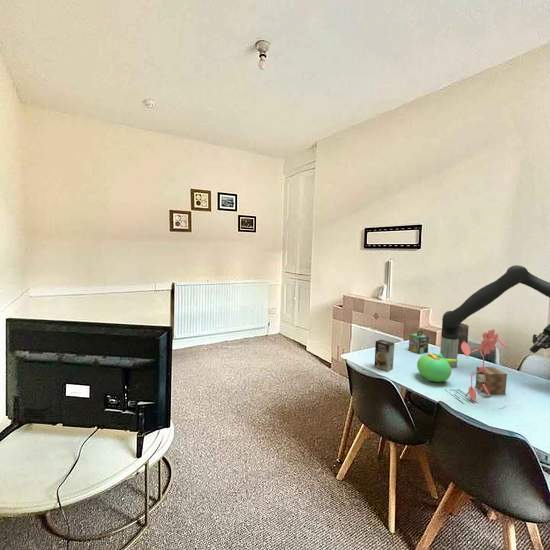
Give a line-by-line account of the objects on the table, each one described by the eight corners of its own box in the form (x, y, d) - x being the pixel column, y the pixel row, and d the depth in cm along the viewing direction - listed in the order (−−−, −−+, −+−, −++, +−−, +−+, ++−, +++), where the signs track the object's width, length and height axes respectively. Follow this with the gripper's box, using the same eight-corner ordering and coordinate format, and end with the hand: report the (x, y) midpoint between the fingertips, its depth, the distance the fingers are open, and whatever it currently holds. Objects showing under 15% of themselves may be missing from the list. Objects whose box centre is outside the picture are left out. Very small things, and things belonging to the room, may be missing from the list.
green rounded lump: (410, 373, 181) (412, 348, 180) (438, 372, 183) (440, 347, 181) (428, 387, 163) (430, 360, 162) (459, 386, 165) (461, 359, 163)
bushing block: (487, 394, 156) (489, 374, 155) (475, 386, 165) (476, 366, 164) (505, 394, 156) (507, 374, 155) (492, 386, 165) (493, 366, 164)
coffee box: (373, 367, 190) (374, 341, 188) (379, 364, 194) (380, 339, 192) (387, 372, 183) (389, 344, 181) (393, 369, 187) (394, 342, 185)
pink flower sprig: (451, 398, 152) (457, 327, 147) (486, 389, 162) (494, 323, 157) (482, 415, 138) (491, 337, 133) (519, 404, 147) (528, 332, 143)
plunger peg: (482, 386, 157) (483, 375, 157) (475, 381, 163) (476, 370, 162) (505, 385, 158) (506, 375, 157) (497, 381, 163) (498, 370, 163)
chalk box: (417, 348, 225) (418, 328, 223) (428, 352, 216) (429, 331, 215) (407, 350, 221) (409, 329, 219) (418, 354, 213) (419, 332, 211)
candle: (456, 349, 222) (458, 322, 220) (468, 352, 217) (470, 324, 215) (453, 352, 217) (455, 323, 215) (465, 355, 212) (467, 326, 210)
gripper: (541, 320, 167) (517, 342, 168) (565, 326, 154) (538, 351, 155) (550, 330, 168) (525, 352, 169) (574, 337, 155) (547, 361, 156)
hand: (531, 351), depth 162 cm, fingers closed
